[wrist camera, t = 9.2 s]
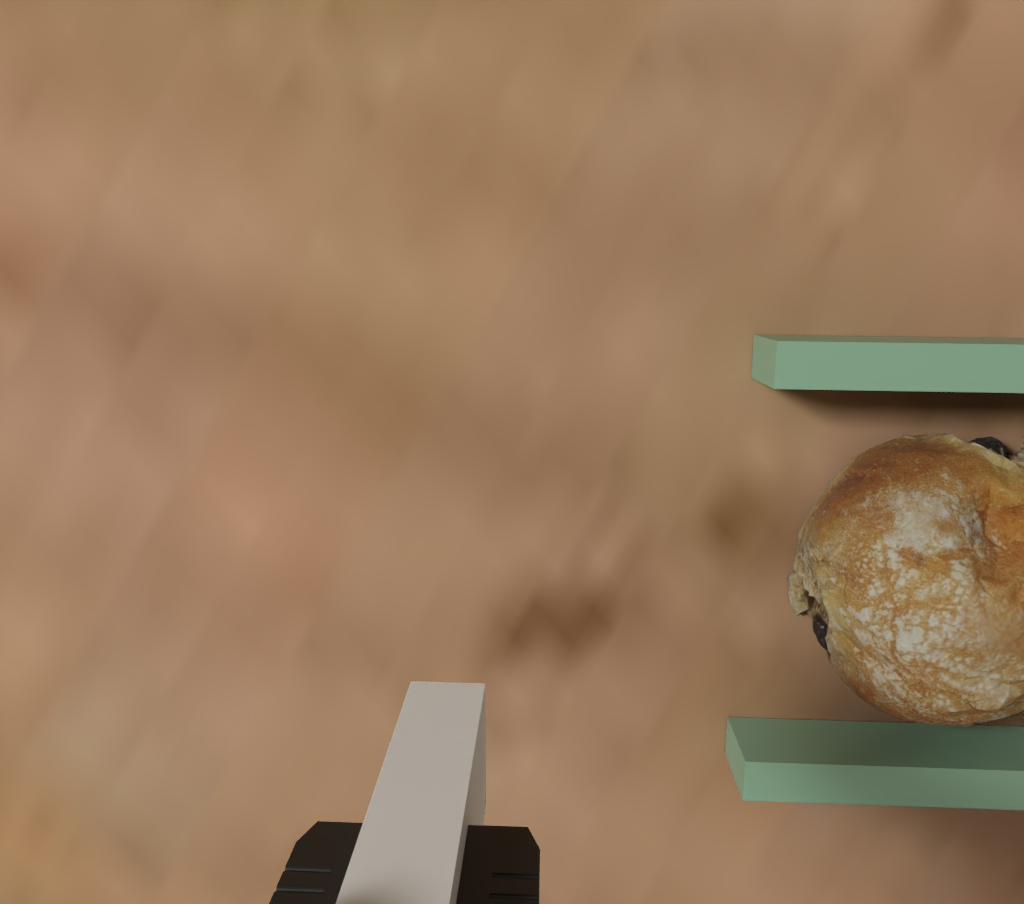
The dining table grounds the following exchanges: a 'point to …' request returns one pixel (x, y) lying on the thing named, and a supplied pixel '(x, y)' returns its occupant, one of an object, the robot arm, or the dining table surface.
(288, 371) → the dining table surface
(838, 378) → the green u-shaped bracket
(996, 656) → the bread roll
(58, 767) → the dining table surface
